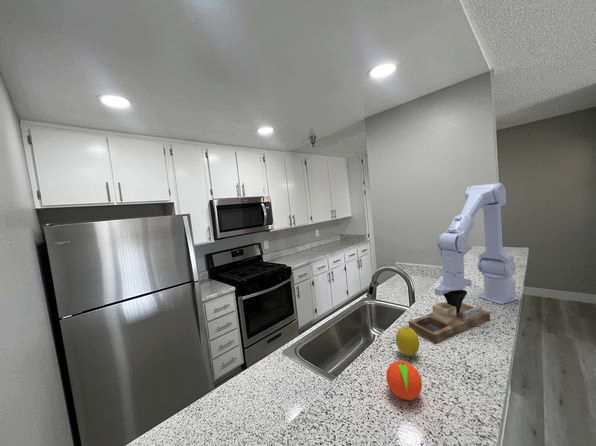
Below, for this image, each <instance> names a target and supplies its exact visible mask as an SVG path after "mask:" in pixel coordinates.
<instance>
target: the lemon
mask: <svg viewBox="0 0 596 446" xmlns="http://www.w3.org/2000/svg"><path fill="white" fill-rule="evenodd" d="M395 335H396V336H395V343H396V346H397V348H398V351H400V352H401V353H402V354H403V355H405V356H407V357H411V356H414V355H416V354H417V352H419V349H420V339H419V337H418V336H419V335H418V334H417V333H416V332H415V331H414V330H413V329H411V328H409V326H402V327H400V328H398V330H397V332H396V334H395Z"/></svg>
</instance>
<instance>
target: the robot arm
mask: <svg viewBox="0 0 596 446" xmlns="http://www.w3.org/2000/svg"><path fill="white" fill-rule="evenodd" d="M506 193H507V191H506V187H505V186H504V184H503V183H502V182H495V183H488V184H487V183H486V184H478V185H469V186H467V188H466V189H465V192H464V194H465V195H464V197H465V203H464V205H463V208H462V209H461V212H460V214H458V215H455V216H454V217H453V219H452V221H451V223H450V224H449V226H448V228H447V229H446V231H445V232H443V233H441V234H439V235H438V238H437V242H436V246H437V249H439V255H440V256H441V267H442V268H441V269H442V270H441V271H442V280H440V282H439V283H440V284H439V285H438V286H437V287H435V288H434V295H437V296H438V297H443V296H444V299H445V301H447V303H448V304H449V305H452V306H455V307H456V314H457V313H459V311H460V308H461V304H462V303H463V301H464V299H465V297H466V296H467V295H468V291H467V290H465V289H466V288H467V287H472V285H473V284H472V279H468V278H465V264H464V261H465V259H464V252H465V251H466V250H467V249H468V242H469V234H470V233H471V231H472V229H473V227H474V225H475V221H474V217H475V216H476V215H477V213H478V212H479V210H480V209H481V210H482V212H483V227H484V230H483V231H484V244H485V246H484V247H485V248H484V249H485V250H484V251H481V252H480V253H479V254H478V259H477V264H476V265H477V269H478V271H479V273H481V275H482V276H483V294H480V295H478V298H481V299H483V300H487V301H490V302H493V303H494V304H495V303H496V304H498V305H504V304H507V303H511V302H514V301H518V300H519V297H517V296H516V281H515V279H514V277H513V276H514V275H515V272H516V263H515V259H514V256H513V255H512V254H510V253H509V252H507V251H505V250H504V249H503V245H504V244H503V243H504V242H503V227H502V226H503V225H502V224H503V223H502V207H503V206H505V205H507V194H506Z"/></svg>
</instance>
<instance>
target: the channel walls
mask: <svg viewBox="0 0 596 446" xmlns="http://www.w3.org/2000/svg"><path fill="white" fill-rule="evenodd" d="M443 302H444V303H447V300H445V301H443ZM447 304H448V303H447ZM474 307H475V308H472V309H470V310H467V311H465V312H462V318H463V321H467V320H470V319H472V318H475V317H477V316H479V315H481V309H482V307H481V306H479V305H478V306H474Z"/></svg>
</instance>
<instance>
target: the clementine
mask: <svg viewBox="0 0 596 446" xmlns="http://www.w3.org/2000/svg"><path fill="white" fill-rule="evenodd" d="M385 376H386V377H385V378H386V382H387V386H388V388H389V389H390V391H391V392H392V393H393V394H394V395H395V396H396V397H397V398H399V399H402V400H404V401H411V400H414V399H416V398H418V397H419V395H420V393H421V392H422V389H423V382H422V377H421V375H420V373H419V371H418V369H416V368H415V367H414V365H412V364H411V363H409V362H408V361H405V360H396V361H394V362H392V363H391V364H389V366H388V367H387V370H386V375H385Z"/></svg>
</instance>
